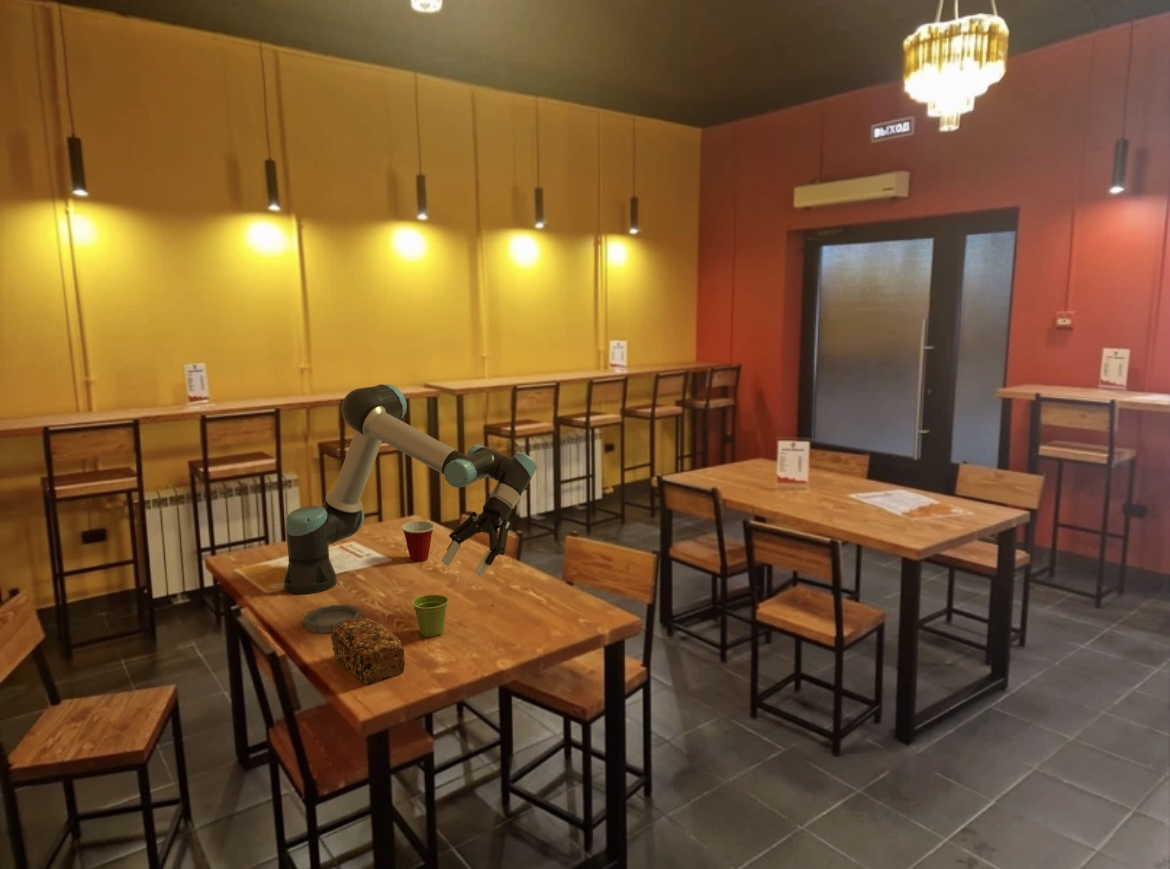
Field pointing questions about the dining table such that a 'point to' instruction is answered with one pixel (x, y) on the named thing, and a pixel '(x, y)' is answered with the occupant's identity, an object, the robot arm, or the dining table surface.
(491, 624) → the dining table surface
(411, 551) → the plastic cup
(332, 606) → the saucer
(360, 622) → the bread
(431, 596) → the plant pot
